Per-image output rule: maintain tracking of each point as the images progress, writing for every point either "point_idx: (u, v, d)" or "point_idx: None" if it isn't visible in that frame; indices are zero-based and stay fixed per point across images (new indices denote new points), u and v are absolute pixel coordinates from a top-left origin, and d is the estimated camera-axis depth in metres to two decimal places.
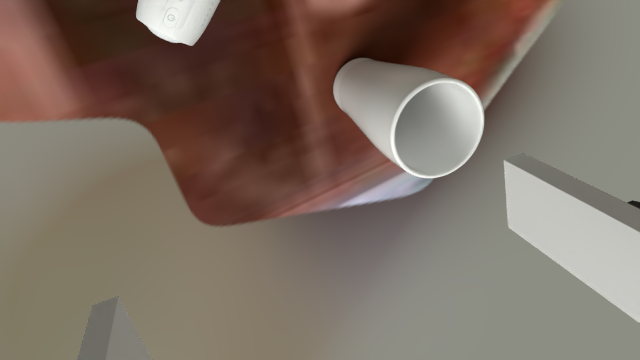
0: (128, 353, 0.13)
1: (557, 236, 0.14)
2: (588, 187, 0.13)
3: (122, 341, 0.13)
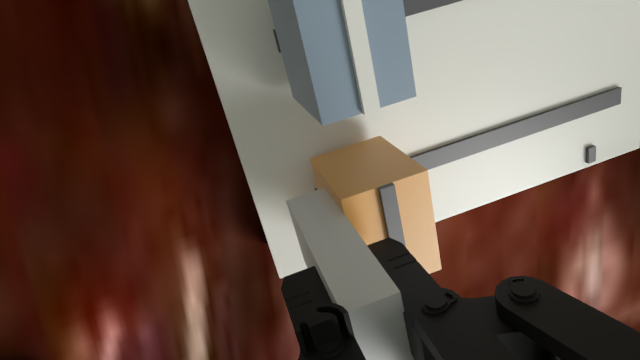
0: None
1: None
2: (347, 225, 0.14)
3: None
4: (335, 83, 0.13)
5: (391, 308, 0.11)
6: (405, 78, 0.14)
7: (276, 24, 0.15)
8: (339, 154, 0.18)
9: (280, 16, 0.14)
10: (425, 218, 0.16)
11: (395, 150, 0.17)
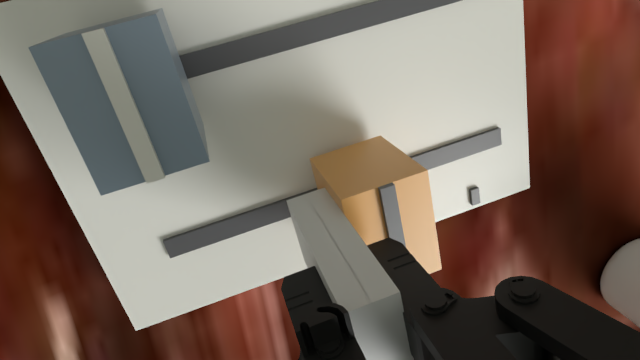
0: None
1: None
2: (347, 225, 0.14)
3: None
4: (107, 151, 0.12)
5: (391, 308, 0.11)
6: (192, 143, 0.13)
7: None
8: (339, 154, 0.18)
9: None
10: (425, 218, 0.16)
11: (396, 150, 0.17)
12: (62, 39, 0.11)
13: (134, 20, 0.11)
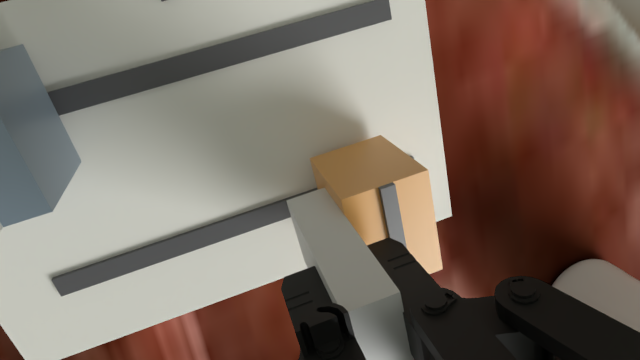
0: None
1: None
2: (347, 225, 0.14)
3: None
4: None
5: (391, 308, 0.11)
6: (30, 194, 0.12)
7: None
8: (339, 154, 0.18)
9: None
10: (426, 217, 0.16)
11: (396, 149, 0.17)
12: None
13: None
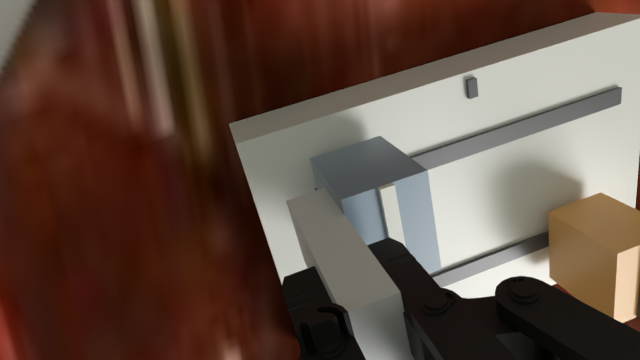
0: None
1: None
2: (347, 225, 0.14)
3: None
4: None
5: (391, 308, 0.11)
6: (432, 257, 0.16)
7: None
8: (575, 209, 0.22)
9: None
10: None
11: (630, 208, 0.21)
12: (363, 192, 0.15)
13: (412, 175, 0.15)
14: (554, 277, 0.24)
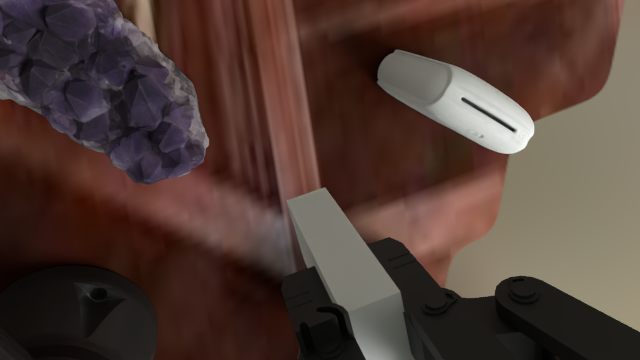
0: None
1: None
2: (347, 225, 0.14)
3: None
4: None
5: (391, 308, 0.11)
6: None
7: None
8: None
9: None
10: None
11: None
12: None
13: None
14: None
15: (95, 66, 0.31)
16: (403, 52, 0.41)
